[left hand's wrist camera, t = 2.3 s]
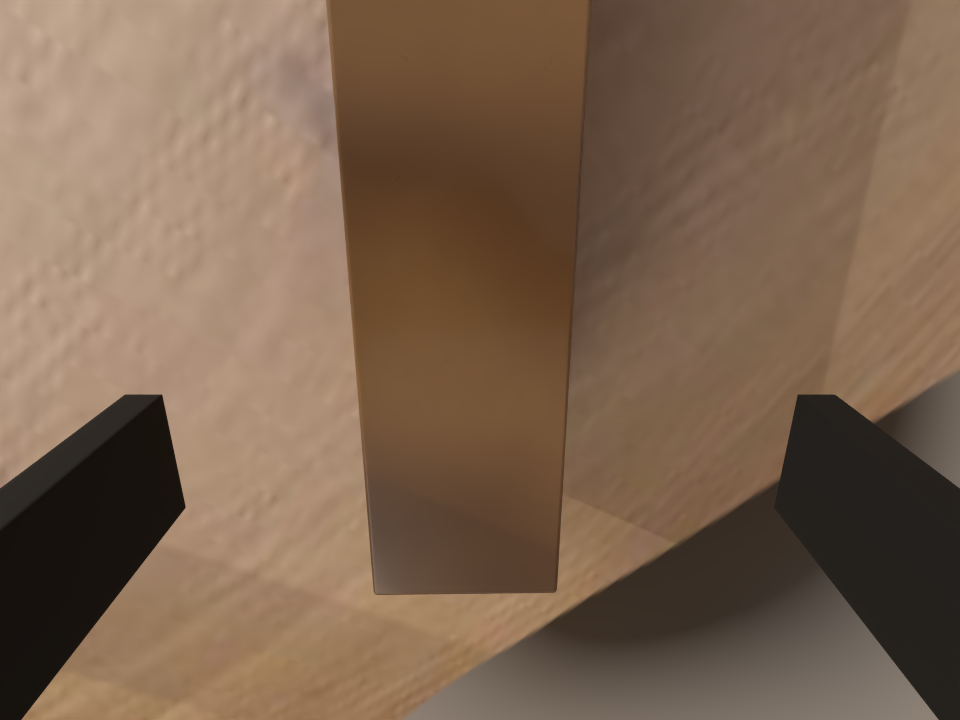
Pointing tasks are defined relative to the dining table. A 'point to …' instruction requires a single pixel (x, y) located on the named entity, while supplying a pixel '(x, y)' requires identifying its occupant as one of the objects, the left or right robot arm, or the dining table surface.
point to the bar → (461, 278)
